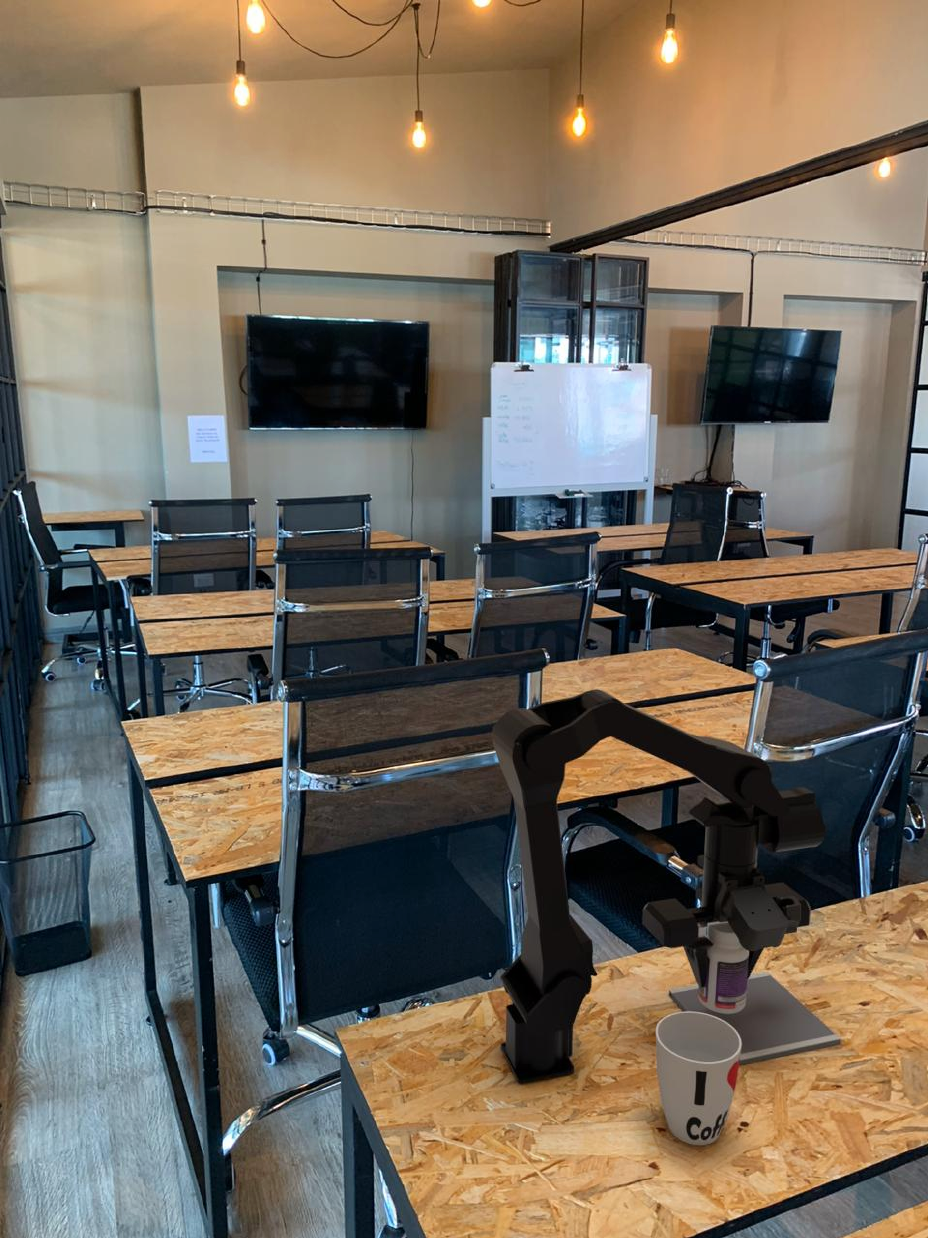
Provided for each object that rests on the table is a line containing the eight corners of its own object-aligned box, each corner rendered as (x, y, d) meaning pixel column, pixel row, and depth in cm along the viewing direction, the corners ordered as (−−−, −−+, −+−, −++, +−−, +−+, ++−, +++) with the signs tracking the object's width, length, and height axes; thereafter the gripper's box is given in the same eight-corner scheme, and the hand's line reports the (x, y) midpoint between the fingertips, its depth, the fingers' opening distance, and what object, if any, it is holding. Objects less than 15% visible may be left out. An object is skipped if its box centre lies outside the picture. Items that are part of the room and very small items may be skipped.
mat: (731, 1067, 101) (732, 1061, 101) (668, 994, 114) (668, 989, 114) (840, 1044, 105) (841, 1038, 104) (767, 976, 118) (767, 971, 118)
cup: (684, 1167, 87) (689, 1073, 85) (636, 1111, 94) (639, 1023, 92) (753, 1142, 90) (759, 1050, 88) (701, 1089, 97) (705, 1003, 95)
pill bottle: (753, 1000, 108) (758, 923, 106) (733, 1021, 104) (739, 942, 102) (709, 982, 111) (714, 908, 109) (689, 1003, 107) (694, 925, 105)
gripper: (693, 899, 94) (686, 1038, 97) (848, 876, 99) (837, 1008, 102) (642, 854, 104) (637, 979, 107) (785, 835, 110) (776, 955, 113)
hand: (722, 981), depth 107 cm, fingers closed on pill bottle, 5 cm apart
